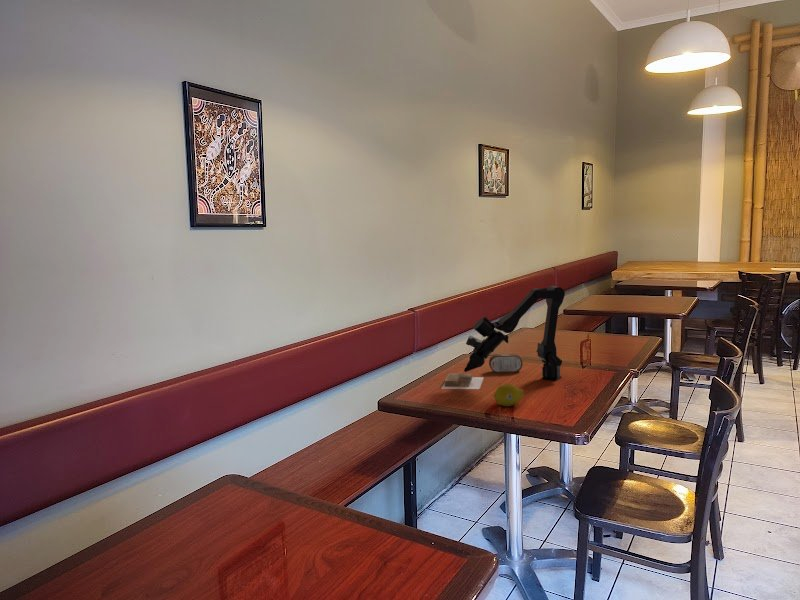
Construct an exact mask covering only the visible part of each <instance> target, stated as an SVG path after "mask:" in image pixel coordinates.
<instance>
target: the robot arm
mask: <svg viewBox="0 0 800 600" xmlns="http://www.w3.org/2000/svg"><path fill="white" fill-rule="evenodd" d="M565 296H566V292H565V290H564V289H563V288H562V287H561V286H555V285H550V286H548V287H543V288H532V289H531V290H530V292H529V293H528V294H527V295H526V296H524V298H523V299H522V300H521V301H520V302H519V303H518V304H517V305H516V306H515V307H514V309H512V310H511V311H510V312H509V313H506V314H504V315H503V316H501V318H500V319H498V321H494V322H491V321H490V320H489V319H488V318H487V317H486V316H482V318H480V319H478V320H477V321H476V322H475V323H474V325H473V330H475V331H476V332H477V333H478V334H479V335H481V337H483V338H484V339H482V340H481V339H480V338H477V337H474V336H473V335H469V336H468V338H467V340H466V343H465V344H466V345H467V346H470V347H473V351H472V352H471V354H470V355H469V358H468V359H469V361H468V362H467V364H466V366H465V367H464V369H463V371H464V372H465V373H467V372H471V371H472V370H474V369H478V368H481V367H482V366H484V364H485V362H486V360H487V359H488V357H489V356H490V355H491V354H492V353H494V351H495V349H496V348H498V347H499V346H500V344H501V343H503V341H504V342H505V343H506V344H509V335H508V334H511V333H513V332H514V331H515V329H516V328H517V326H518V325H519V322H520V319H522V317H524V315H525V314H526V313H527V312H528V311H529V310H530V309H531V307H533V306H534V305H535V304H536V303H537V302H538V300H539V299H545V302H546V303H545V304H546V306H547V309H546V316H545V325H544V331H543V332H544V333H543V338H542V340H541V342H538V343H537V349H536V350H535V351H536V353H537V357H538V358H539V359H541V360H540V361H541V362H542V363H543V364H542V367H541V372H542V377H541V379H542V380H550V381H558V380H560V379H561V378H563V376H562V375H561V367H562V364H563V360H562V359H561V358H560V357H558V355H557V353H558V352H557V346H556V342H555V340H556V333H557V327H558V326H557V325H558V319H559V309H560V307H561V306H562V304H563V303H564V300H565ZM504 333H505V334H504Z"/></svg>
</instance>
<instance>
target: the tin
mask: <svg viewBox="0 0 800 600" xmlns="http://www.w3.org/2000/svg"><path fill="white" fill-rule="evenodd" d="M523 363H524V362H523V359H522V357H521V356H520V355H519V354H517V353H496V354H493V355H491V357H490V358H489V359H488V365H489V368H490V370H492V372H494V373H518V372H519V371H521V369H522V368H523V366H524V365H523Z"/></svg>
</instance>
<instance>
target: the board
mask: <svg viewBox="0 0 800 600" xmlns="http://www.w3.org/2000/svg"><path fill="white" fill-rule="evenodd" d="M472 377H473V373H451V372H450V373H448V375H447V376H446V378H445V380H444V382H445V386H450V387H469V385H470V383H471V380H472Z"/></svg>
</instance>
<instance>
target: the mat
mask: <svg viewBox="0 0 800 600" xmlns="http://www.w3.org/2000/svg"><path fill="white" fill-rule="evenodd" d="M483 381H484V377H483V376H481V377H480V376H478V377H476V376H475V377H474V376H472V380H471V383H470V385H469V387H450V386H445V381H444V383H443V384H442V386H441V388H440V389H446V390H447V389H448V390H449V389H450V390H451V389H452V390H453V389H455V390H480V389H481V387H482V383H483Z"/></svg>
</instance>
